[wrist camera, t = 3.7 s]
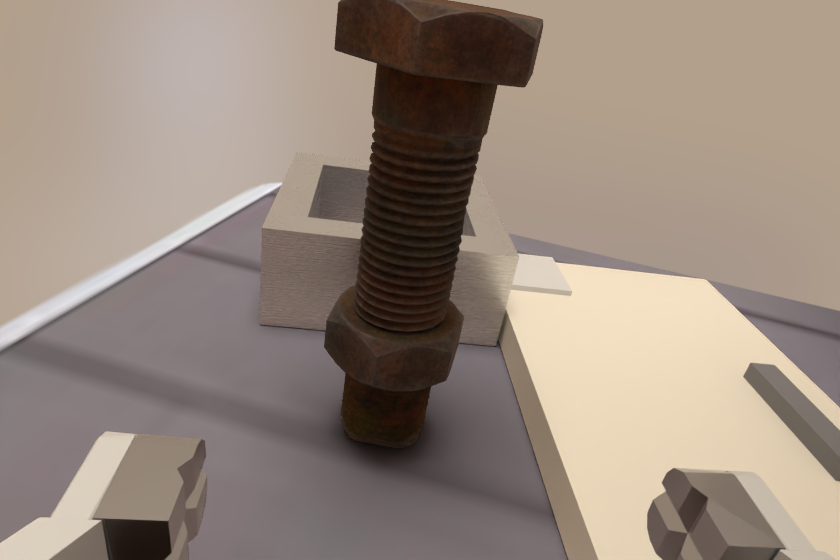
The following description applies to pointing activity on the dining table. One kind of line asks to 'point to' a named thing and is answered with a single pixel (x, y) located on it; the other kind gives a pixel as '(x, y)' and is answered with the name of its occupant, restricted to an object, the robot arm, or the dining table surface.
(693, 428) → the cabinet door
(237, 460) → the dining table surface
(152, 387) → the dining table surface
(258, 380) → the dining table surface
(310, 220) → the hollow square frame
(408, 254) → the bolt
